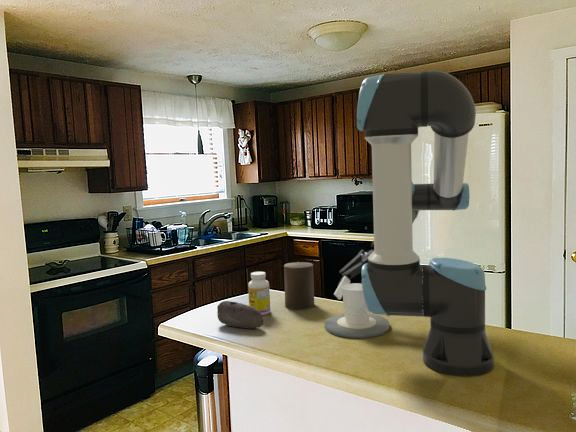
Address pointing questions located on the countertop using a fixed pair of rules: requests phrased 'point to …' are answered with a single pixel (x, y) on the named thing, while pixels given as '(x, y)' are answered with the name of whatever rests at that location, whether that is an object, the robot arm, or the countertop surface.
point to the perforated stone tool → (239, 315)
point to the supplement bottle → (259, 293)
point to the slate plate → (357, 327)
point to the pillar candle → (299, 285)
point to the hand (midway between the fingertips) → (353, 301)
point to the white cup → (355, 304)
